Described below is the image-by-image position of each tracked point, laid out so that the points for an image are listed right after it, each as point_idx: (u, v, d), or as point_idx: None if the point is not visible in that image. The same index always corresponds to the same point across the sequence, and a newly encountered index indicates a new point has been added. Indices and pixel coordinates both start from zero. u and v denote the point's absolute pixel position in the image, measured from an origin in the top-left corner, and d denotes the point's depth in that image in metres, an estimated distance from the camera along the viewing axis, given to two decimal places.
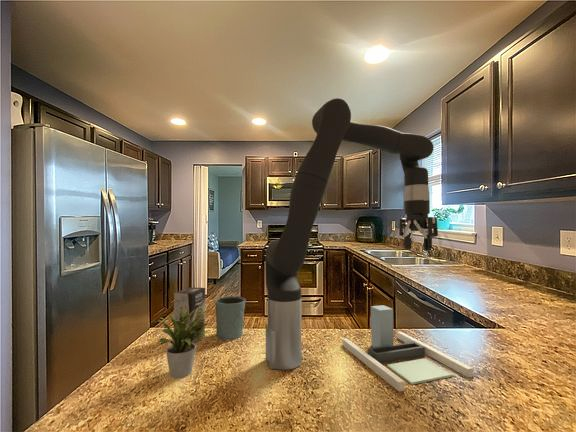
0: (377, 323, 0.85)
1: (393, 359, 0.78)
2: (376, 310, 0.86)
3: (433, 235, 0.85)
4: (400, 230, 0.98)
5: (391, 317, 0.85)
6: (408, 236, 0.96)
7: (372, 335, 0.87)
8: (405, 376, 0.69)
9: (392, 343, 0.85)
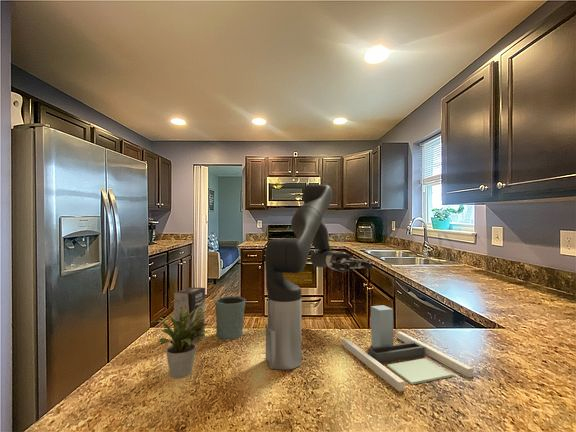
0: (377, 323, 0.85)
1: (393, 359, 0.78)
2: (376, 310, 0.86)
3: (369, 263, 1.06)
4: (335, 261, 1.03)
5: (391, 317, 0.85)
6: None
7: (372, 335, 0.87)
8: (405, 376, 0.69)
9: (392, 343, 0.85)
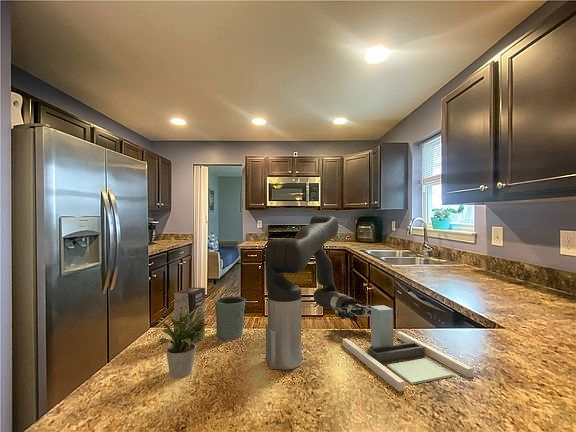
0: (377, 323, 0.85)
1: (393, 359, 0.78)
2: (376, 310, 0.86)
3: None
4: (341, 310, 0.98)
5: (391, 317, 0.85)
6: None
7: (372, 335, 0.87)
8: (405, 376, 0.69)
9: (392, 343, 0.85)
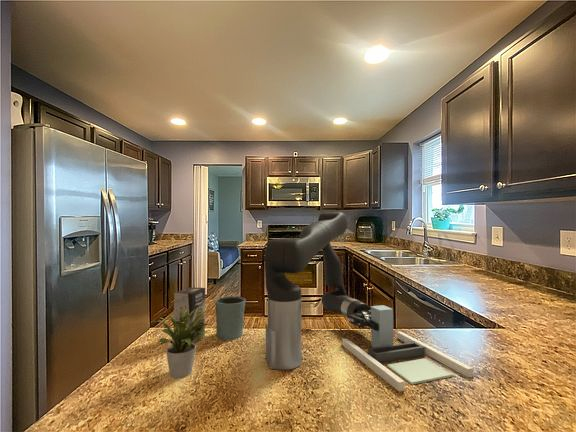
0: None
1: (393, 359, 0.78)
2: (376, 310, 0.86)
3: None
4: (359, 318, 0.89)
5: (391, 317, 0.85)
6: None
7: (372, 335, 0.87)
8: (405, 376, 0.69)
9: (392, 343, 0.85)
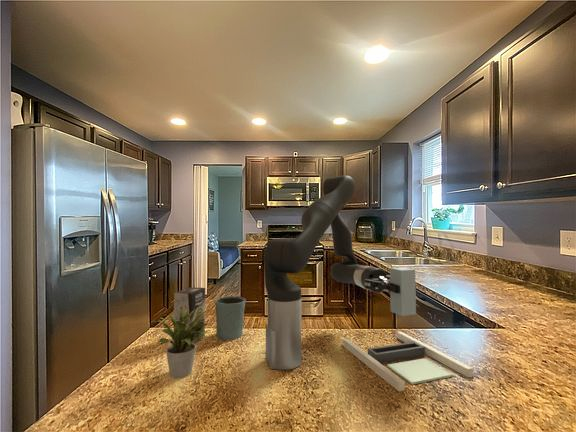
0: None
1: (393, 359, 0.78)
2: (396, 271, 0.77)
3: None
4: (376, 281, 0.81)
5: (413, 279, 0.77)
6: None
7: (391, 299, 0.79)
8: (405, 376, 0.69)
9: (414, 307, 0.76)
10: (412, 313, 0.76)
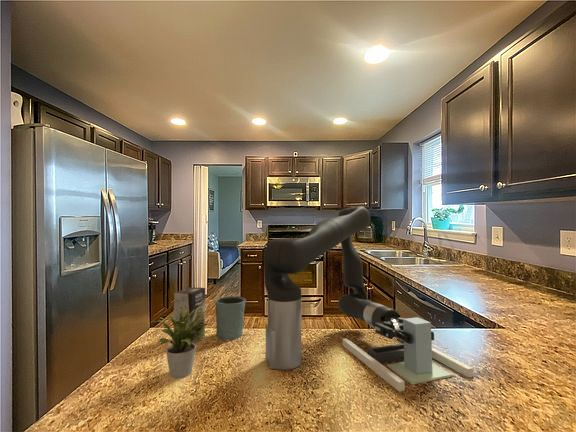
0: (412, 340, 0.71)
1: (393, 359, 0.78)
2: (410, 324, 0.72)
3: None
4: (386, 327, 0.75)
5: (429, 333, 0.71)
6: None
7: (405, 353, 0.73)
8: (405, 376, 0.69)
9: (430, 364, 0.71)
10: (428, 370, 0.70)
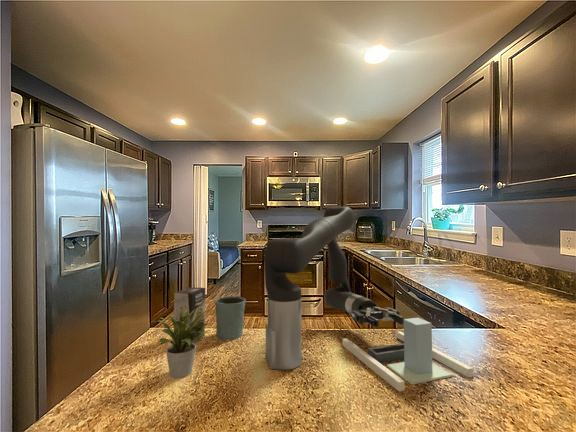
0: (413, 340, 0.71)
1: (393, 359, 0.78)
2: (411, 324, 0.72)
3: None
4: (359, 314, 0.87)
5: (429, 333, 0.71)
6: None
7: (405, 354, 0.73)
8: (405, 376, 0.69)
9: (431, 364, 0.71)
10: (428, 371, 0.70)
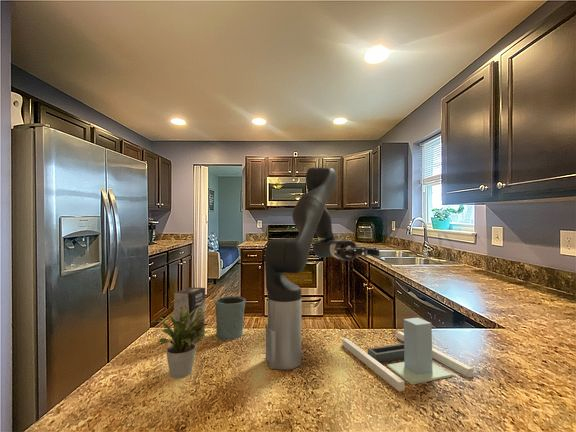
0: (413, 340, 0.71)
1: (393, 359, 0.78)
2: (411, 324, 0.72)
3: None
4: (340, 248, 0.97)
5: (429, 333, 0.71)
6: None
7: (405, 354, 0.73)
8: (405, 376, 0.69)
9: (431, 364, 0.71)
10: (428, 371, 0.70)
